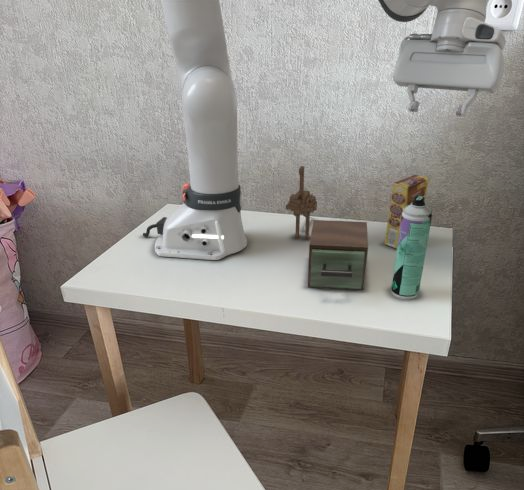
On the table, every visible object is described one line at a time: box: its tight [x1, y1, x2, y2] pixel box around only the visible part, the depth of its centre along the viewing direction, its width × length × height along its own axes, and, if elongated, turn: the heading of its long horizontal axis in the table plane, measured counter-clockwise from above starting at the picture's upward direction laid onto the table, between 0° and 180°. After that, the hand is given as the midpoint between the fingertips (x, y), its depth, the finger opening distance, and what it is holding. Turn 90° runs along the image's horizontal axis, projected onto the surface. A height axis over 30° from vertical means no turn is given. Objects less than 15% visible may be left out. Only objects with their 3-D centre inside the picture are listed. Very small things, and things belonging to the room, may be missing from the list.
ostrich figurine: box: [285, 165, 318, 241], centre depth 132 cm, size 17×7×18 cm, turn 163°
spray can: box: [390, 196, 433, 301], centre depth 103 cm, size 6×6×20 cm
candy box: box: [384, 174, 430, 250], centre depth 126 cm, size 9×4×15 cm, turn 134°
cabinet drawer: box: [310, 249, 365, 289], centre depth 110 cm, size 17×10×8 cm, turn 172°
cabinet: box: [307, 219, 369, 291], centre depth 114 cm, size 14×12×10 cm
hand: (436, 113), depth 104 cm, fingers open, 8 cm apart
